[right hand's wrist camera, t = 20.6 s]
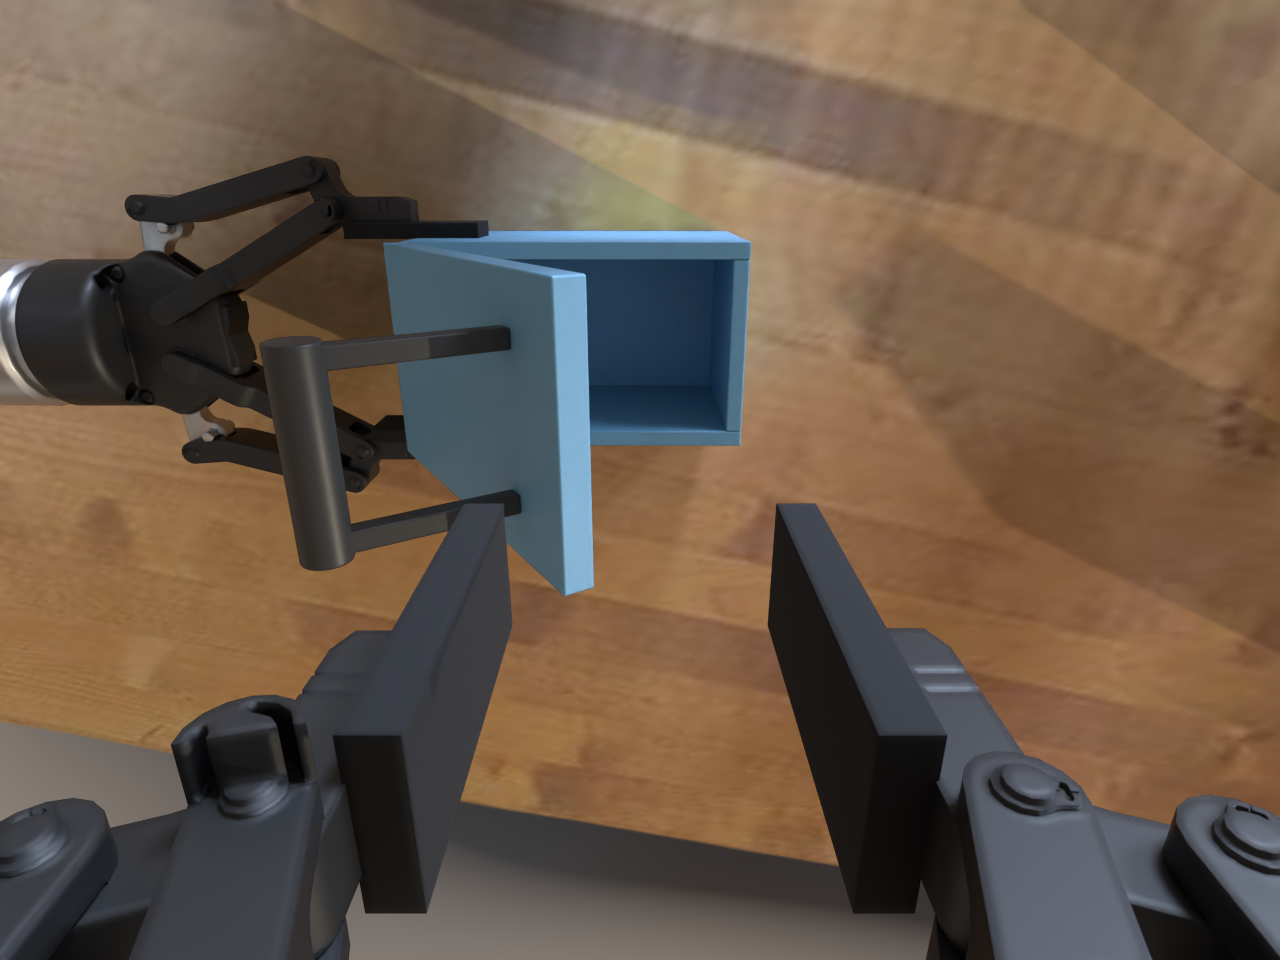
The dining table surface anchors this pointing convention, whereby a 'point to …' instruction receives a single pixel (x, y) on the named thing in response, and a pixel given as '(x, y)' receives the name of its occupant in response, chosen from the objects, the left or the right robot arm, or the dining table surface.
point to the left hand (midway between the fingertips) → (490, 333)
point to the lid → (454, 410)
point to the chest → (650, 326)
